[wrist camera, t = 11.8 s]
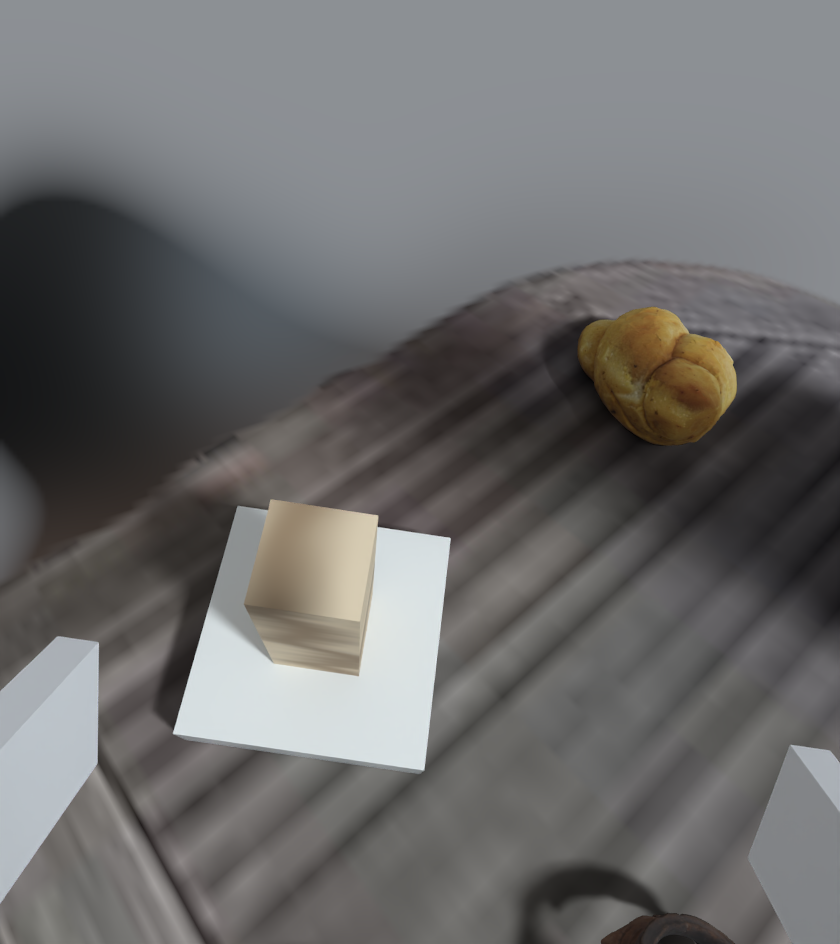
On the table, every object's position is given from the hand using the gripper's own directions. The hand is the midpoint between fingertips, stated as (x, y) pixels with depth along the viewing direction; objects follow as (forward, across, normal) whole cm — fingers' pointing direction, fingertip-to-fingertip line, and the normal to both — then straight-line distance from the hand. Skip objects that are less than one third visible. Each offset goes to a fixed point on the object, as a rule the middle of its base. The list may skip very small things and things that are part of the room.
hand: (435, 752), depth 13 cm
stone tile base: (+27, -5, -15) cm, 31 cm away
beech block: (+25, -5, -13) cm, 28 cm away
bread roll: (+44, +16, +2) cm, 47 cm away
